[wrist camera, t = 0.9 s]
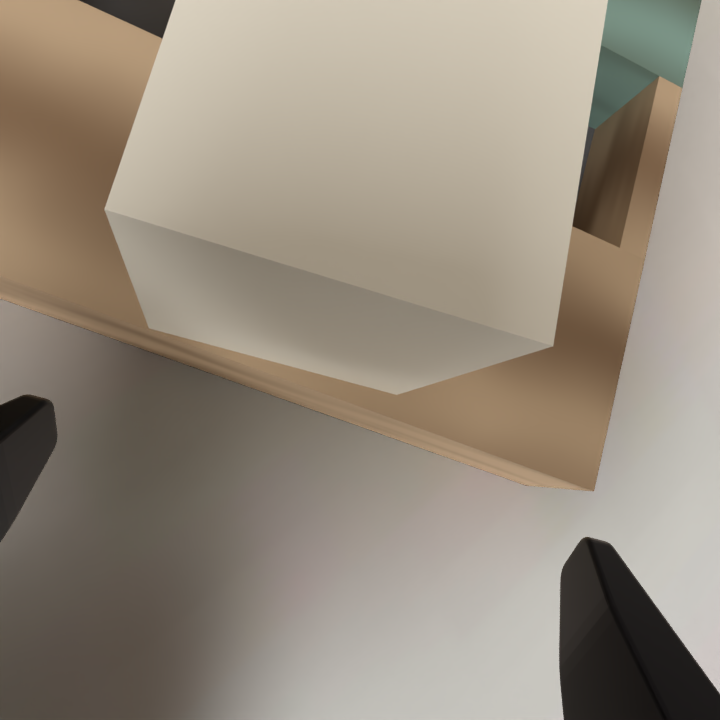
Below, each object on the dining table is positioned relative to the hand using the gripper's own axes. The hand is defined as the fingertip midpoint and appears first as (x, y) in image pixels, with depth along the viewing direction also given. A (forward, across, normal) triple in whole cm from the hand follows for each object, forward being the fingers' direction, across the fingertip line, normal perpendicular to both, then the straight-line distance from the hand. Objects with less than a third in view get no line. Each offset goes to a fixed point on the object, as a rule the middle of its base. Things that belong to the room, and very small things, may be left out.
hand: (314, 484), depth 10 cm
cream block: (+9, +2, 0) cm, 9 cm away
